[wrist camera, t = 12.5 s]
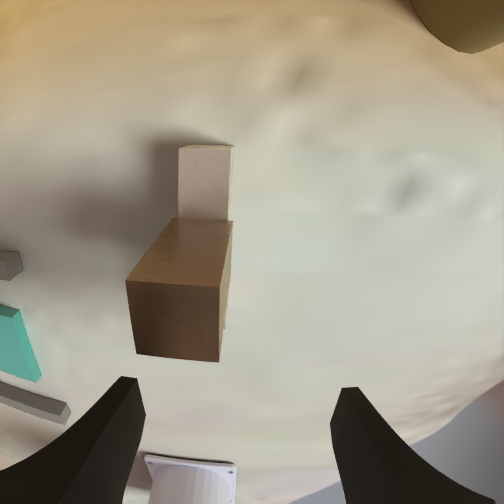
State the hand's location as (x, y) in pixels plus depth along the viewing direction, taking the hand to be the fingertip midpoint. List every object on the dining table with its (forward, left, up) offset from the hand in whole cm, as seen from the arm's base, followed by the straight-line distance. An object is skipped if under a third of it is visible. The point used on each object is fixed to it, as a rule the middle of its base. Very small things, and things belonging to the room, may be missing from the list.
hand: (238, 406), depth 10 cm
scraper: (+4, +2, -7) cm, 8 cm away
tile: (-5, +18, -8) cm, 20 cm away
